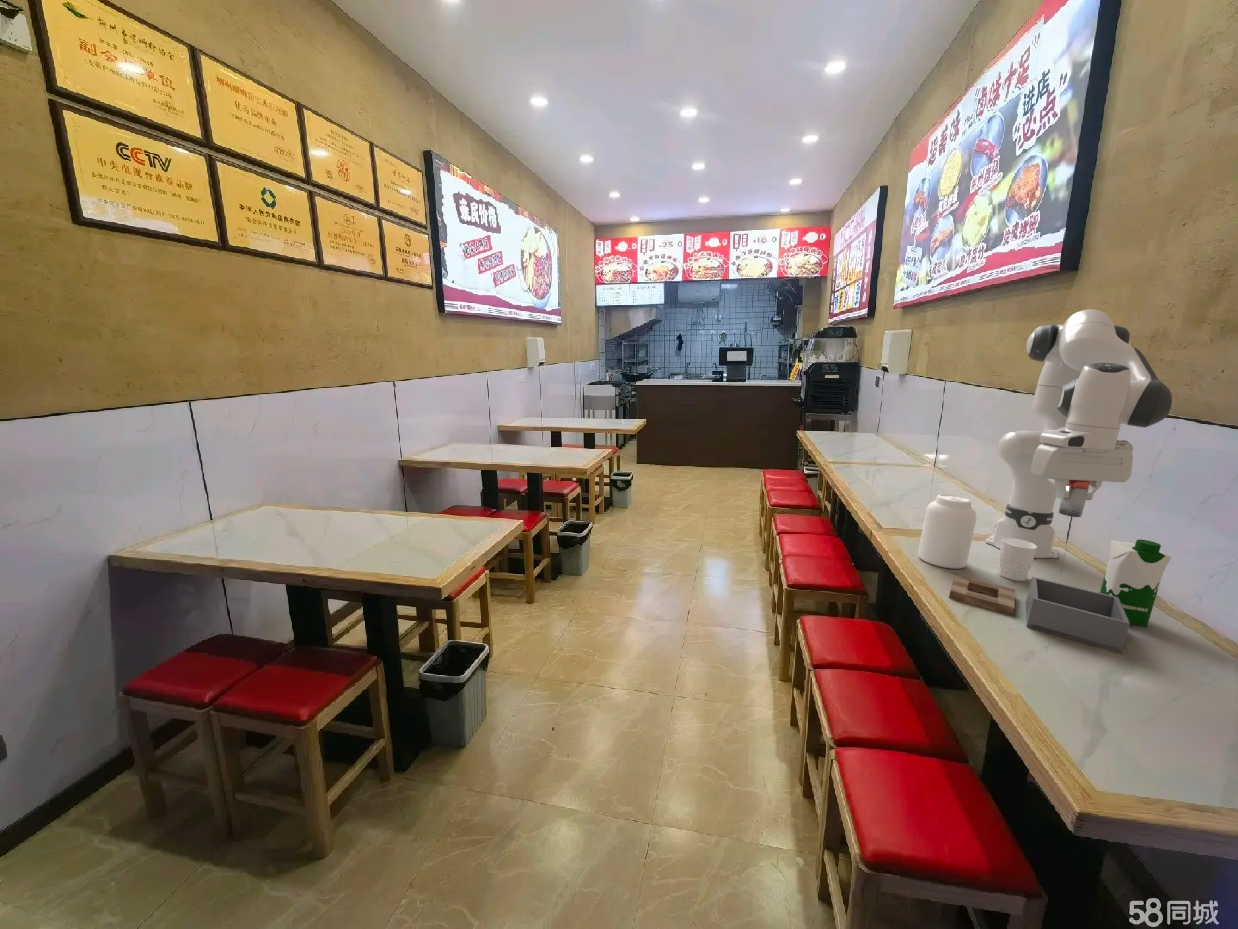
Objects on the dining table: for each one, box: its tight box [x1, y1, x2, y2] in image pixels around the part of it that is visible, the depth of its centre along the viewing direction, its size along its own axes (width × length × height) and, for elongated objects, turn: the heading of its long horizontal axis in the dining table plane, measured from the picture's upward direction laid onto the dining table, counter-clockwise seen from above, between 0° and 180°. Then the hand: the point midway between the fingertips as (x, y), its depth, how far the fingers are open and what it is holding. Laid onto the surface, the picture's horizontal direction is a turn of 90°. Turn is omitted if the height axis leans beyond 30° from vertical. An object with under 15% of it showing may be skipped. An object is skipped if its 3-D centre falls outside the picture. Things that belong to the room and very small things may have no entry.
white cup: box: [996, 538, 1037, 582], centre depth 144 cm, size 8×8×10 cm
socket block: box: [948, 573, 1016, 617], centre depth 131 cm, size 13×13×2 cm
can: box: [917, 493, 977, 570], centre depth 152 cm, size 12×12×20 cm
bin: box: [1025, 576, 1131, 655], centre depth 118 cm, size 16×16×7 cm
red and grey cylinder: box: [1058, 480, 1090, 518], centre depth 115 cm, size 4×4×8 cm
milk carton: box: [1099, 539, 1172, 628], centre depth 122 cm, size 9×9×20 cm
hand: (1073, 499), depth 115 cm, fingers closed on red and grey cylinder, 4 cm apart
